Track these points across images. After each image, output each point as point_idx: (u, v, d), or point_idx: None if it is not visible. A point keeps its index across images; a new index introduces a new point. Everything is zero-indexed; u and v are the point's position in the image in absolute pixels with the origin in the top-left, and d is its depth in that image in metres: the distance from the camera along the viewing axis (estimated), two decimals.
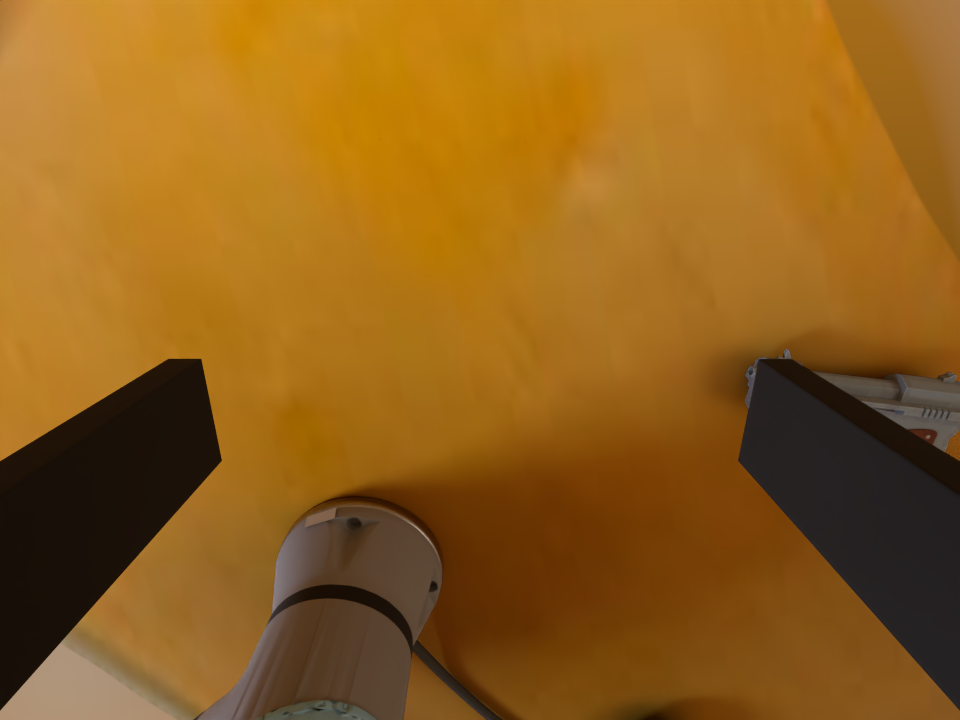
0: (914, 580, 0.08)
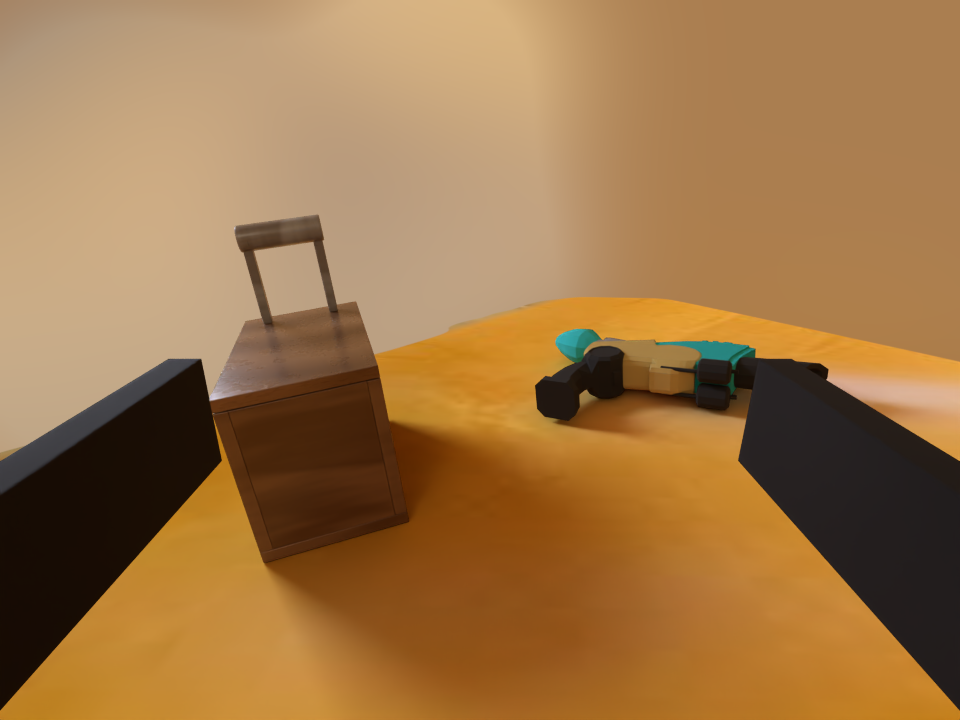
0: (914, 580, 0.08)
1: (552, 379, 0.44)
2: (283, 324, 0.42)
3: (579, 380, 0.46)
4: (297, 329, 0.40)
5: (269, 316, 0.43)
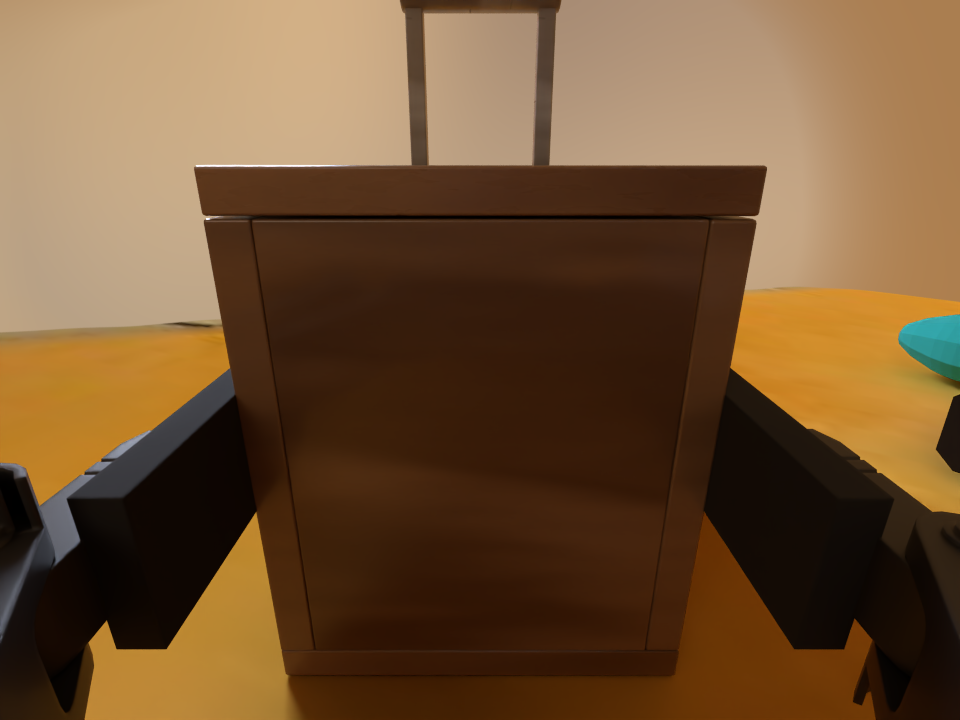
0: (761, 528, 0.09)
1: None
2: None
3: None
4: None
5: (424, 154, 0.22)
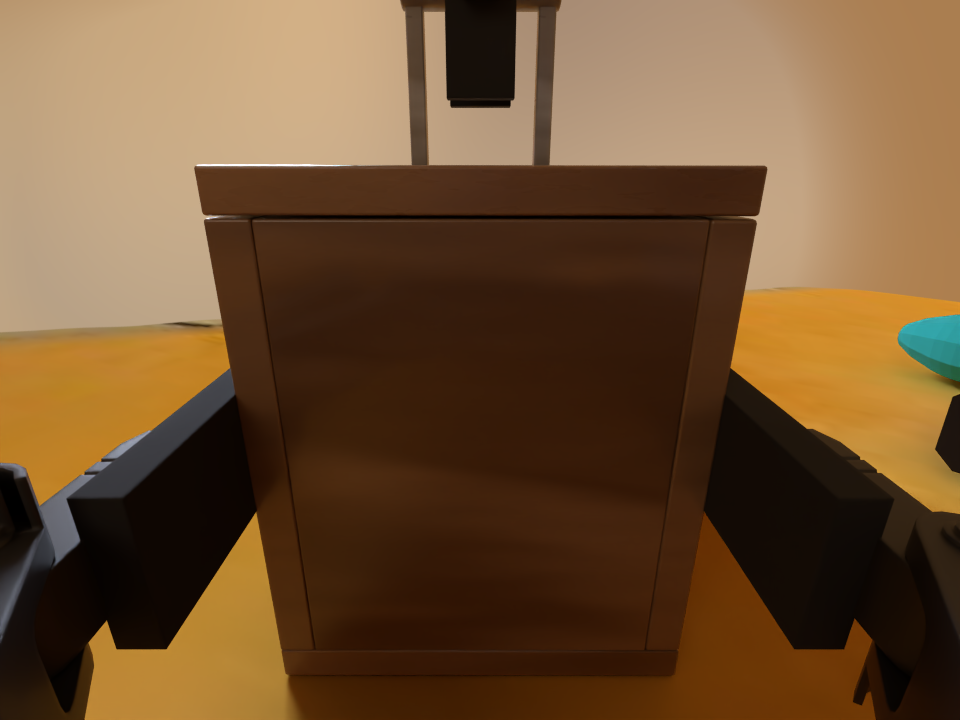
0: (760, 528, 0.09)
1: None
2: None
3: None
4: None
5: (425, 153, 0.22)
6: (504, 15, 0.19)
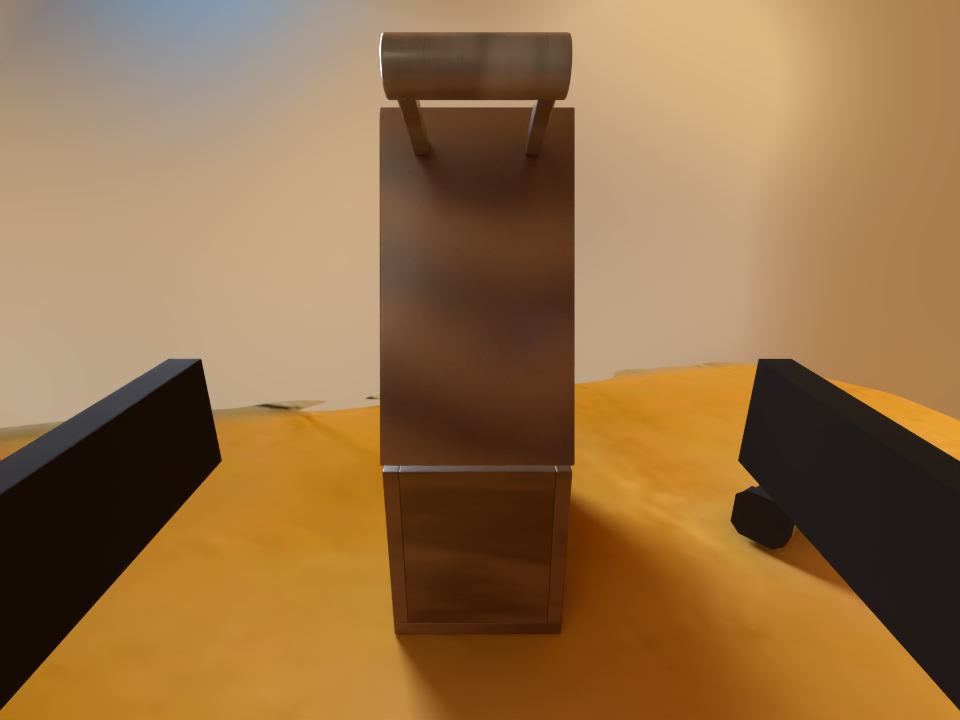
0: (914, 580, 0.08)
1: (762, 494, 0.35)
2: (448, 181, 0.25)
3: None
4: (472, 227, 0.25)
5: (425, 150, 0.24)
6: None
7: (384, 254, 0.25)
